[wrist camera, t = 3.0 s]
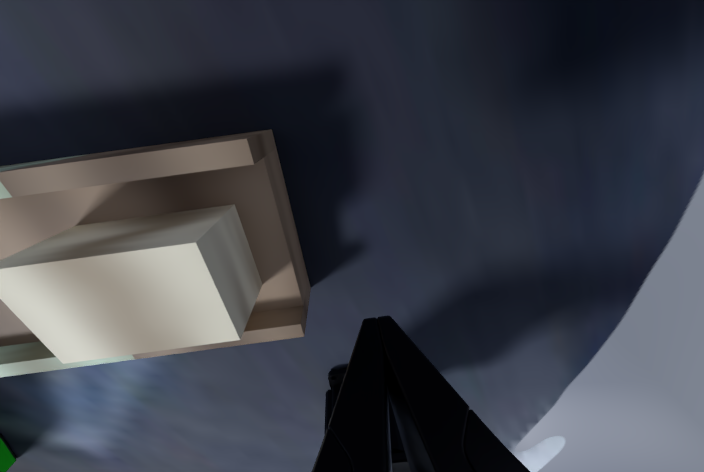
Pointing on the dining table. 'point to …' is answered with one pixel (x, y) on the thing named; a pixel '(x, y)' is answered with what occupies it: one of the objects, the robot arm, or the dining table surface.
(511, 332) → the dining table surface
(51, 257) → the birch block
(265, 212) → the trap lane
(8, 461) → the puzzle cube
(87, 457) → the dining table surface
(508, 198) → the dining table surface
